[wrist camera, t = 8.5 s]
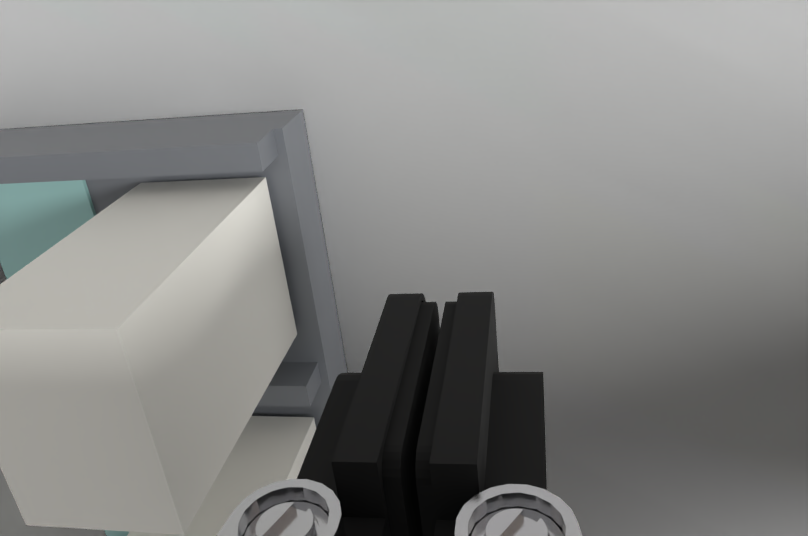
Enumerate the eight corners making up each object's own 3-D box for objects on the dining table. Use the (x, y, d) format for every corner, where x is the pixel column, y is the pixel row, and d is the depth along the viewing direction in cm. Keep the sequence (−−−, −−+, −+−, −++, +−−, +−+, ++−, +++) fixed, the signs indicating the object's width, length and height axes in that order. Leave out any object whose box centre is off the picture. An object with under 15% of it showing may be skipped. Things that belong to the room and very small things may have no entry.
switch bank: (302, 109, 17) (266, 142, 15) (395, 655, 25) (381, 728, 23) (0, 129, 19) (-73, 161, 16) (181, 636, 27) (149, 702, 25)
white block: (265, 176, 16) (117, 328, 10) (297, 333, 18) (184, 534, 12) (140, 182, 17) (-62, 329, 11) (182, 334, 18) (26, 526, 13)
